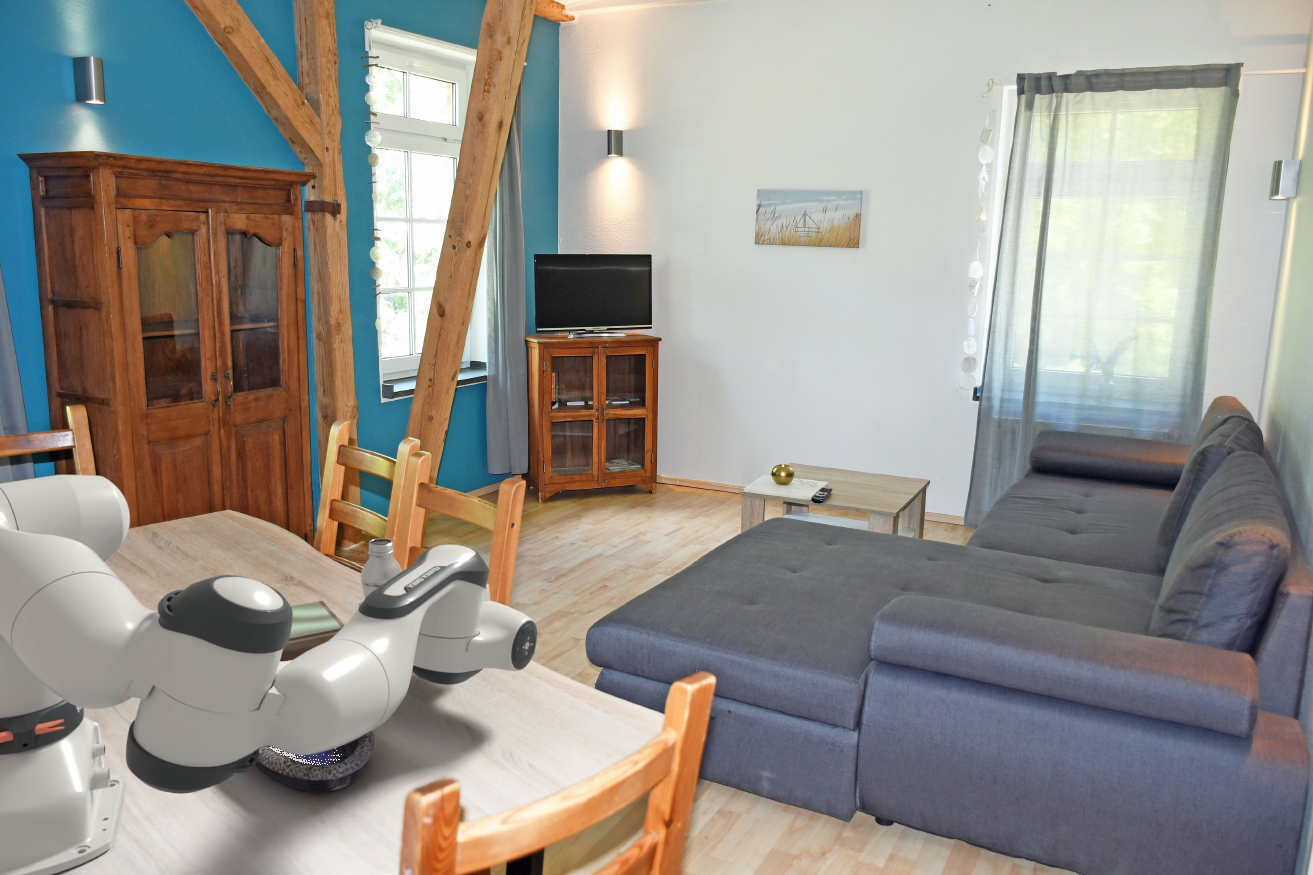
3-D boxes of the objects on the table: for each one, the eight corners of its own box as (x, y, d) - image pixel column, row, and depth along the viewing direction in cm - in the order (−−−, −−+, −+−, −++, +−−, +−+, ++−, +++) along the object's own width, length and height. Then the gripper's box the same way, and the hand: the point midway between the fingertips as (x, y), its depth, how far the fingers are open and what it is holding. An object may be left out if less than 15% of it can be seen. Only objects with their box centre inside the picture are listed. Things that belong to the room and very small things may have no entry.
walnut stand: (350, 648, 160) (349, 628, 159) (261, 667, 152) (259, 646, 151) (323, 616, 172) (322, 598, 172) (239, 632, 165) (238, 613, 164)
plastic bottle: (363, 672, 151) (358, 549, 147) (364, 655, 157) (359, 536, 153) (406, 668, 152) (402, 547, 148) (405, 651, 159) (401, 534, 155)
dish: (277, 823, 112) (275, 784, 111) (209, 718, 136) (207, 685, 135) (404, 781, 121) (403, 744, 120) (320, 689, 145) (318, 658, 144)
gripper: (393, 661, 137) (332, 637, 145) (496, 618, 153) (436, 598, 161) (392, 619, 136) (330, 597, 143) (496, 580, 152) (435, 562, 160)
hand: (387, 597), depth 152 cm, fingers open, 8 cm apart
